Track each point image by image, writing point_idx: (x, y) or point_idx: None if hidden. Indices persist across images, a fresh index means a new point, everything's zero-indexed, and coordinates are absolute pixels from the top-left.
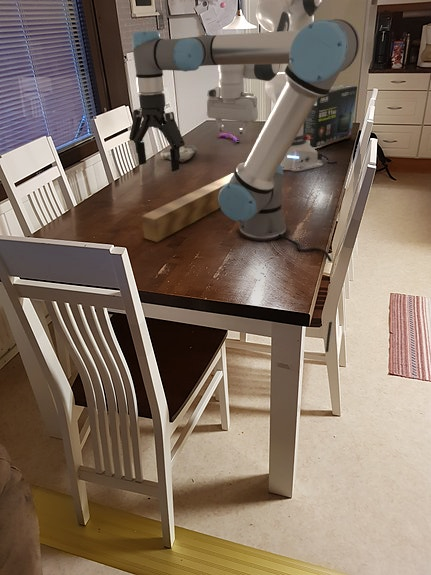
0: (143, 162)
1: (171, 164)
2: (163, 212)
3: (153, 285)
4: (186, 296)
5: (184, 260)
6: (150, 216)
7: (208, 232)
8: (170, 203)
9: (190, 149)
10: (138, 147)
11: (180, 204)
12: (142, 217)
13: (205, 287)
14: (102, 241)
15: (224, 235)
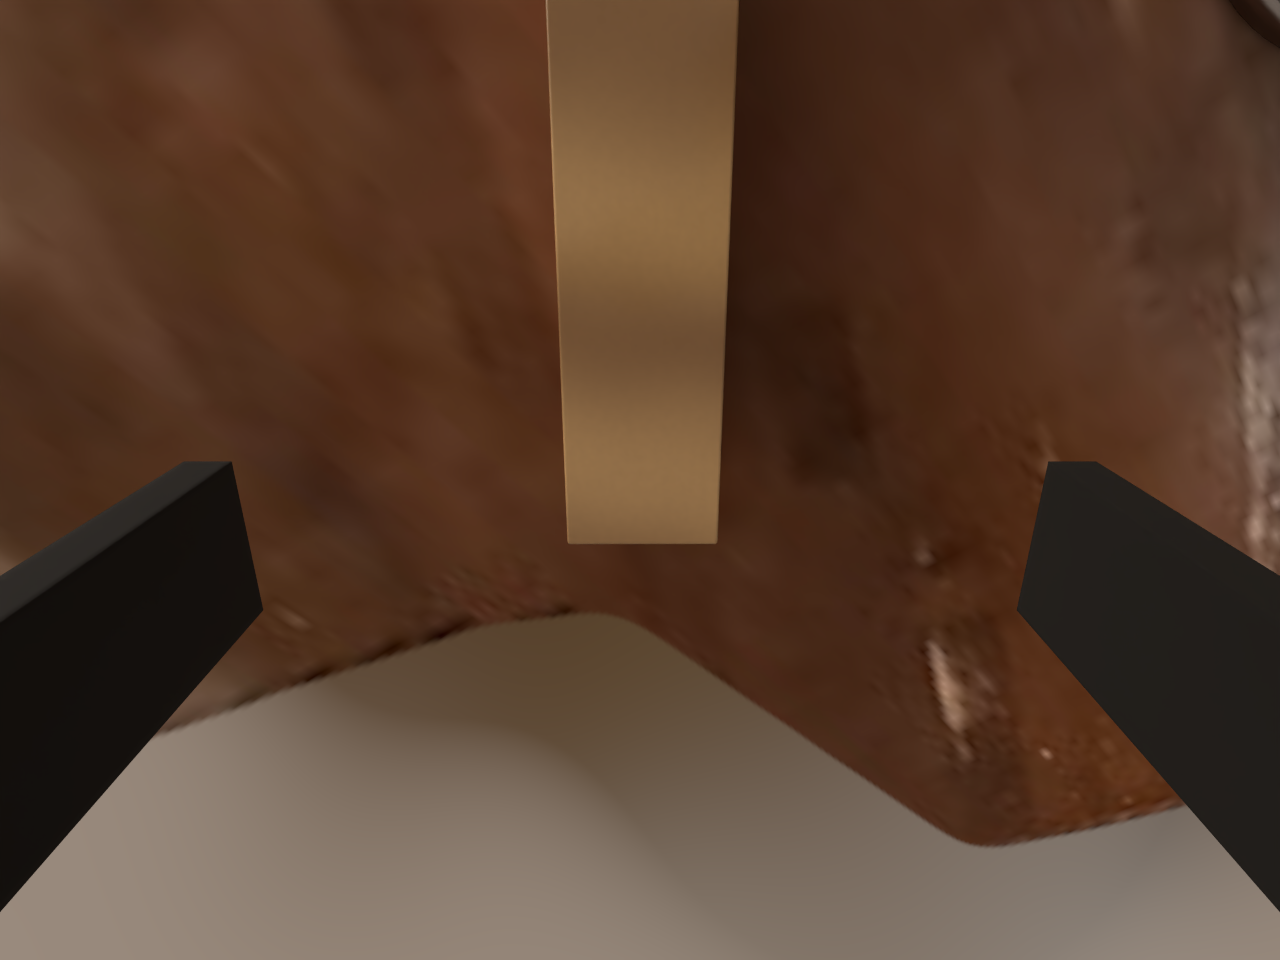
0: (232, 550)
1: (1091, 683)
2: (679, 391)
3: (996, 807)
4: None
5: (1009, 562)
6: (642, 516)
7: (950, 121)
8: (575, 161)
9: None
10: (18, 887)
11: (689, 124)
12: (578, 540)
13: None
14: (389, 632)
15: (1103, 97)
